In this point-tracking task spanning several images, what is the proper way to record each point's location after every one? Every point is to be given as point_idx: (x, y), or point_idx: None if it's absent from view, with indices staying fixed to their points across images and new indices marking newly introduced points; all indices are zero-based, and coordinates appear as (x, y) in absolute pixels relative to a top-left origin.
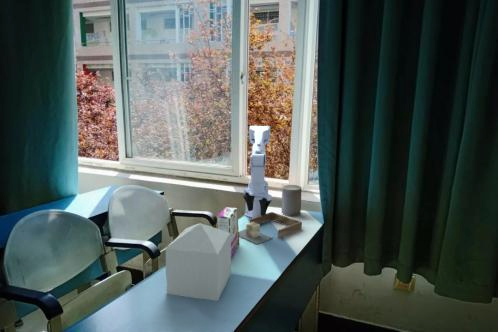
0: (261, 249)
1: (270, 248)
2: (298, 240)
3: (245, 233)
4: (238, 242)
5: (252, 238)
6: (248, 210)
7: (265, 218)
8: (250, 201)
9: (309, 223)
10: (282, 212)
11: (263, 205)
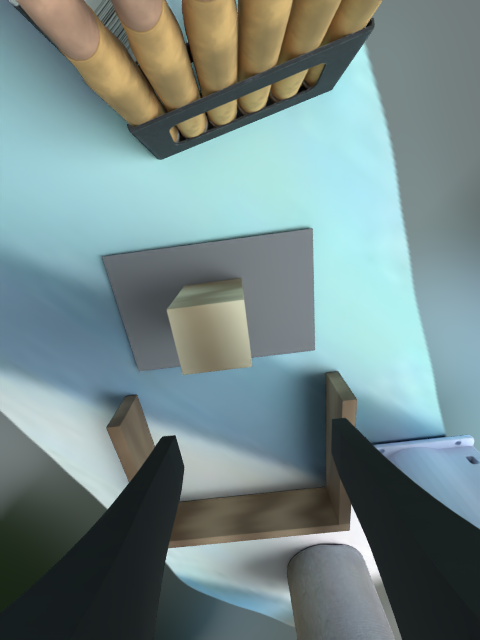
0: (36, 235)
1: (31, 286)
2: (70, 440)
3: (266, 291)
4: (160, 152)
5: (182, 281)
6: (343, 420)
7: (332, 472)
8: (387, 541)
9: (201, 554)
10: (345, 552)
11: (51, 574)
